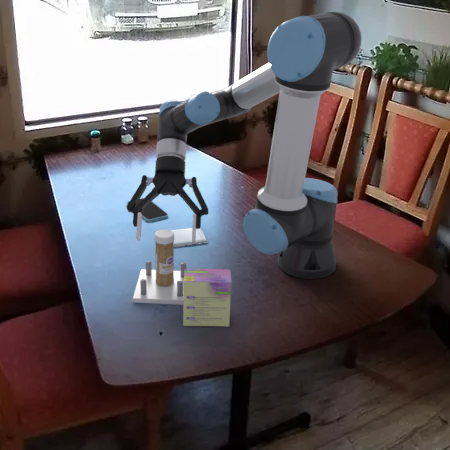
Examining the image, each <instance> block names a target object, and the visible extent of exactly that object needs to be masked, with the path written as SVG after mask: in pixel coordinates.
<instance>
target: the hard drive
mask: <svg viewBox="0 0 450 450" xmlns="http://www.w3.org/2000/svg"><path fill="white" fill-rule="evenodd" d="M192 228H193V227H189V228H179V229H171V231H172V232H173V233H174V242H173V248H179V247H186V246H185V245H187V246H193V245H192V244H196V245H200V244H199V243H204V244H207V243H208V240H207V238H206V236H205V234H204V232H203V230H202V229H201V228H200V229H196V240H195V243H194V242H192ZM206 242H207V243H206Z"/></svg>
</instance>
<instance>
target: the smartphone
mask: <svg viewBox="0 0 450 450" xmlns="http://www.w3.org/2000/svg"><path fill="white" fill-rule="evenodd" d="M144 198H145V197H141V198H140V199H139V201H138V203H137V204H136V206H137V205H138V204H139V203H140V202H141V201H142V200H143V199H144ZM129 202H130V200H129V201H127V203H126V205H128V203H129ZM136 206H135V207H136ZM141 214H142V220H144V221H145V222H147V223H151V222H156V221H160V220H165V219H168V218H169V213H168V212H167V211H165V210H164V209H162V208H161V207H160V206H159V205H158V204H157V203H155V202H154V201H152V202H151V203H150V204H149V205H148V206H147V207H146V208H145V209H144V210H143V211H142V212H141Z"/></svg>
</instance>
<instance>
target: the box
mask: <svg viewBox="0 0 450 450" xmlns="http://www.w3.org/2000/svg"><path fill="white" fill-rule="evenodd" d="M231 271H232V270H231V269H225V268H223V269H220V268H186V269H184V289H183V305H182V307H183V308H182V309H183V311H182V312H183V313H182V317H183V318H182V325H183V326H184V327H225V328H226V327H227V328H228V327H230V324H231V323H230V321H231V318H230V317H231V303H232V301H231V300H232V273H231Z"/></svg>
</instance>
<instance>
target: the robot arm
mask: <svg viewBox="0 0 450 450" xmlns="http://www.w3.org/2000/svg"><path fill="white" fill-rule="evenodd" d="M362 39H363V38H362V32H361V29H360V27H359V25H358V23H357V21H355V20H354V19H353V17H351V16H350V15H348V14H346V13H344V12H340V11H328V12H324V13H318V14H317V13H316V14H311V15H300V16H297V17H294V18H292V19H289V20H288V19H287V20H285V21H284V22H282V23H281V24H280V25H278V26H277V27H276V28H275V30H274V31H273V32H272V33H271V35H270V38H269V40H268V44H267V61H268V62H267V63H265V64H263V65H262V66H260V67H258V69H256V70H254V71H253V72H250V73H249V74H247V75H245V76H244V77H242V78H240V79H238V80H237V81H236V82H234V83H232V84H231V85H229V86H226V87H224V88H223V89H220V90H219V89H218V90H216V91H211V92H209V91H206V90H203V91H200V92H197V93H195V94H192V95H191V96H190V97H188V98H187V99H185V101H180V100H177V99H175V100H173V99H172V100H169V101H168V100H167V101H164V102H163V103H162V104H160V107H159V112H158V113H159V114H158V118H157V121H158V122H157V123H158V124H157V139H156V140H157V141H156V156H155V158H156V160H155V167H154V168H155V170H154V176H153V177H150V176H147V175H145V174H144V175H142V177H141V181H140V184H139V185H138V187H137V189H136V190H135V192H134V194H133V196H132V197H131V199H130V200H129V201H130V202H129V203H128V204H126V209H127V212H128V213H131V214H132V225H133V227H135V228H136V232H135V233H136V235H135V239H136V240H137V242H140V241H141V237H142V226H143V225H142V224H143V222H142V221H143V218H142V214H141V212H142V211H143V210H144V209H145V208H146V207H147V206H148V205H149V204H150V203H151V202H154V200H155V199H156V198H158V197H159V195H162V196H171V197H176V196H177V195H178V197H179V196H180V198H181V199H182V201H183V202H185V204H186V205H187V206H188V207H189V209H190V210H191V211H192V212H193V214H192V227H191V228H192V242H194V243H195V240H196V229H201V227H202V224H201V223H202V217H203V216H206V215H207V216H208V215H209V208H208V205H207V203H206V201H205V198H204V197H203V195H202V193H201V191H200V188H199V187H198V183H197V182H198V181H197V177H196V176H192V178H186V177H185V175H186V158H187V157H186V156H187V155H186V154H187V138H188V134H190V133H193V132H194V131H196V130H197V129H199V128H202V127H204V126H207V125H208V126H209V125H211V124H214V123H217V122H220V121H223V120H228V119H230V118H234V117H239V116H242V115H244V114H247V113H248V112H250V111H251V110H252V108H253V107H255V106H257V105H260V104H261V103H262V102H264V101H266V100H268V99H270V98H273V97H274V96H277V95H278V101H277V108H276V112H275V113H276V114H275V121H274V127H273V128H274V129H273V134H272V140H271V147H270V154H269V159H268V160H269V161H268V165H267V173H266V180H265V185H264V186H262V187H261V188H260V189H258V191H257V194H256V199H255V200H256V201H255V207H254V208H251V209H250V210H248V212H247V213H246V214H245V215H244V217H243V230H244V233H245V236H246V238H247V239H248V241H249V243H250V244H251V245H252V246H253V247H254V248H255V249H256V250H257V251H259V252H260V253H262V254H265V255H276V254H277V265H278V267H279V268H280V269H281V271H282V272H284V273H286V274H287V275H290V276H292V277H295V278H299V279H306V280H318V279H324V278H327V277H329V276H331V275H333V273H334V272H335V270H336V267H337V256H336V253H335V248H334V247H335V246H334V244H333V243H334V242H333V234H334V228H335V220H336V212H337V206H338V205H337V204H338V190H337V188H336V187H335V186H334V185H333V184H331V183H330V182H328V181H324V180H321V179H318V178H317V179H316V178H311V177H306V176H307V169H308V164H309V158H310V154H311V149H312V148H311V147H312V144H313V137H314V133H315V127H316V124H317V123H316V121H317V118H318V112H319V107H320V101H321V97H322V96H321V95H322V94H324V93H326V92H327V91H329V90H330V88H331V82H332V78H333V73H334V70H337V69H340V68H343V67H345V66H347V65H349V64H350V63H352V62H353V60H354V59H355V58H357V55H358V54H359V52H360V50H361V47H362ZM151 184H153V185H154V187H153V188H152V189H151V191H150V192H149V193H148V194H147V195H146V196H145V197H143V198H144V199H143V200H142V201H141V202H140V203H139V204H138V205H137V206H136V204H137V203H138V201H139V199H142V196H143V194H144V193H145V191H146V189H147V187H149V186H151ZM186 185H188V187H189V188H191V189H192V192H193V194H194V196H195V198H196V200H197V202H198V204H199V207H200V208H199V207H198V205H197V204H195V202H194V201H193V200H192V198H191V197H190V196H189V195H188V193H187V192H186V190H185V189H184V187H185V186H186ZM135 206H136V207H135Z"/></svg>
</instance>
